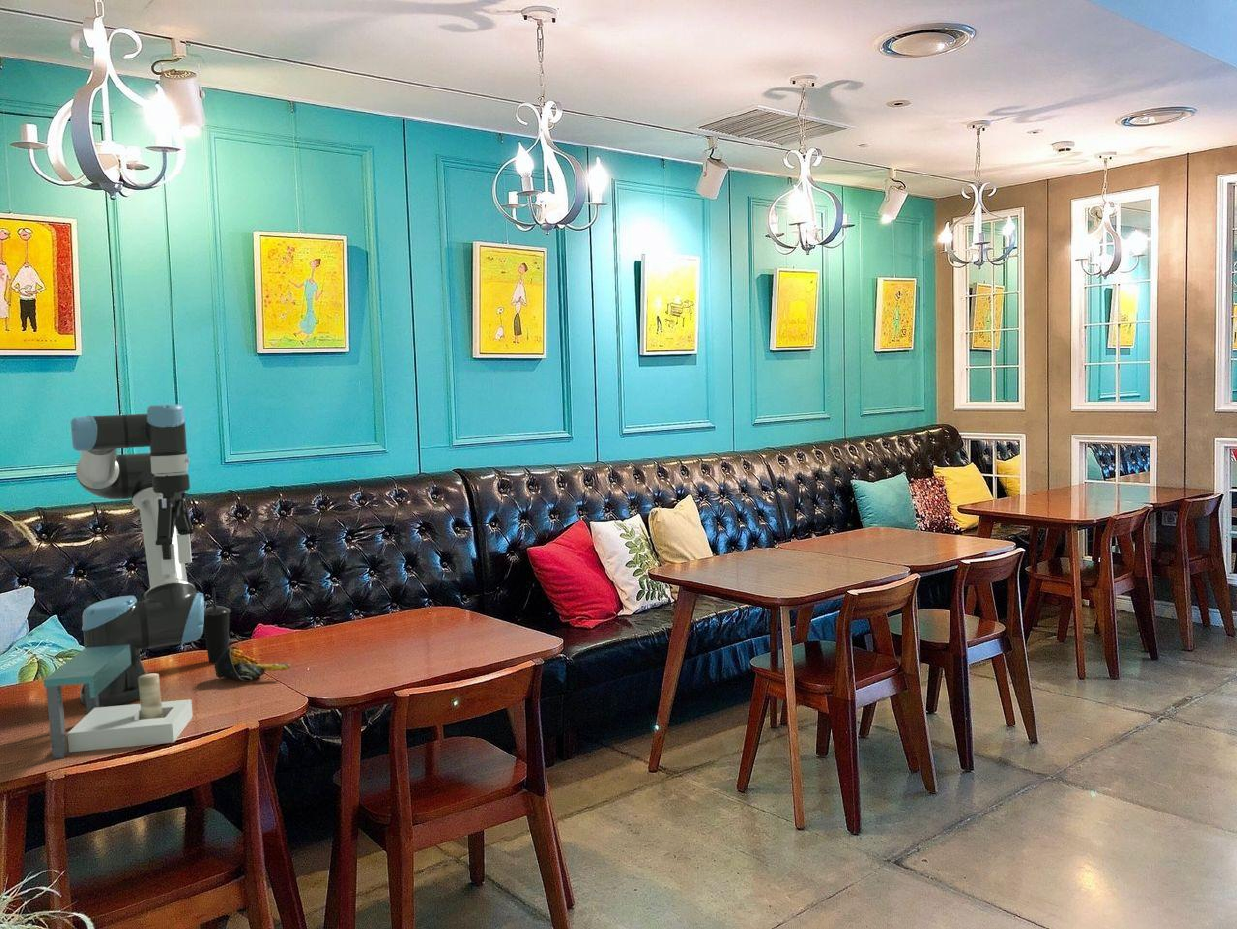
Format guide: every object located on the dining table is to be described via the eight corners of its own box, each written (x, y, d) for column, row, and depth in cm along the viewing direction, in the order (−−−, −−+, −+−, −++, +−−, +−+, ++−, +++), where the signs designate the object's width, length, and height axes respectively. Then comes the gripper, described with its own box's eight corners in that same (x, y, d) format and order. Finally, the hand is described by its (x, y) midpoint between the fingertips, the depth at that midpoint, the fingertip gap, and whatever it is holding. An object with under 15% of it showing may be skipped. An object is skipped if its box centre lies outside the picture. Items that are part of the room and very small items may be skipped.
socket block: (95, 725, 215) (94, 707, 215) (192, 716, 219) (191, 699, 219) (69, 752, 200) (67, 733, 199) (173, 742, 203) (172, 723, 203)
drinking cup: (197, 665, 260) (191, 590, 258) (213, 657, 268) (208, 584, 266) (223, 665, 259) (218, 590, 257) (239, 657, 266) (234, 584, 265)
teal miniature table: (92, 720, 219) (86, 647, 217) (135, 716, 220) (129, 644, 219) (50, 760, 195) (43, 679, 194) (99, 756, 197) (92, 675, 196)
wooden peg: (146, 728, 211) (141, 674, 210) (166, 726, 212) (161, 672, 211) (140, 735, 208) (135, 680, 206) (160, 733, 208) (155, 678, 207)
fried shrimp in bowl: (219, 655, 252) (286, 629, 253) (230, 696, 248) (298, 670, 250) (203, 651, 243) (273, 624, 244) (215, 694, 240) (285, 666, 241)
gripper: (173, 478, 207) (181, 577, 209) (201, 468, 232) (208, 557, 233) (135, 480, 206) (143, 580, 208) (167, 470, 230) (174, 559, 232)
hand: (177, 568), depth 221 cm, fingers open, 13 cm apart
